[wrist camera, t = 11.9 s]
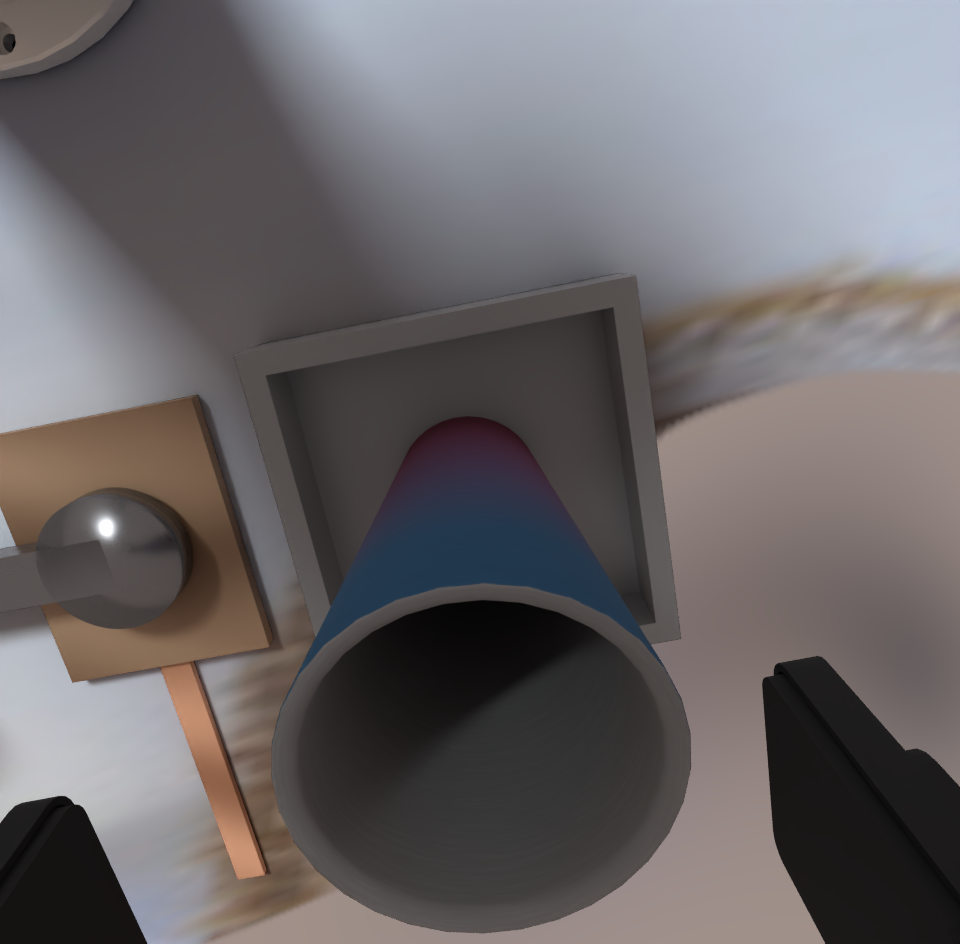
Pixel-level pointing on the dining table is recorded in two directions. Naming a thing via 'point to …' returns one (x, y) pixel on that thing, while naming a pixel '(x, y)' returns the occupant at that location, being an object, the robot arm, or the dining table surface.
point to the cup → (478, 705)
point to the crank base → (203, 602)
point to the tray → (478, 393)
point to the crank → (102, 560)
